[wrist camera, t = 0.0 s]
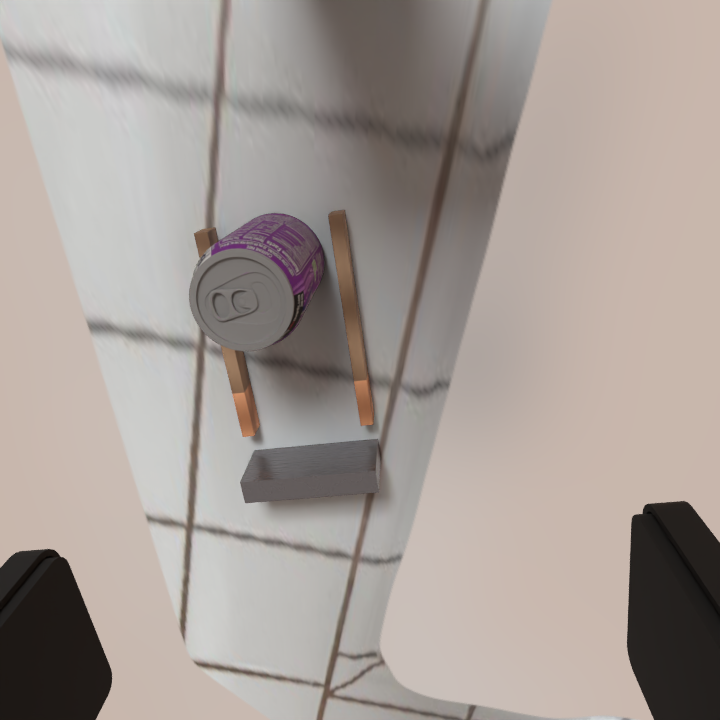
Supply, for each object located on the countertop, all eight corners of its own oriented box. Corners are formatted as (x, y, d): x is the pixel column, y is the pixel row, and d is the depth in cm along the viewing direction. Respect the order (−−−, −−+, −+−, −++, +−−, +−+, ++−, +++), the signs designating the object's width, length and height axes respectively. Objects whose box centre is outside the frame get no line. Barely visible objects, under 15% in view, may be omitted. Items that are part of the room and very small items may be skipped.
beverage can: (247, 309, 47) (200, 366, 36) (224, 221, 44) (165, 252, 33) (333, 295, 46) (313, 349, 35) (315, 204, 43) (286, 230, 32)
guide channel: (202, 229, 44) (179, 241, 40) (344, 209, 43) (337, 220, 39) (258, 469, 52) (245, 503, 48) (380, 459, 51) (378, 492, 46)
